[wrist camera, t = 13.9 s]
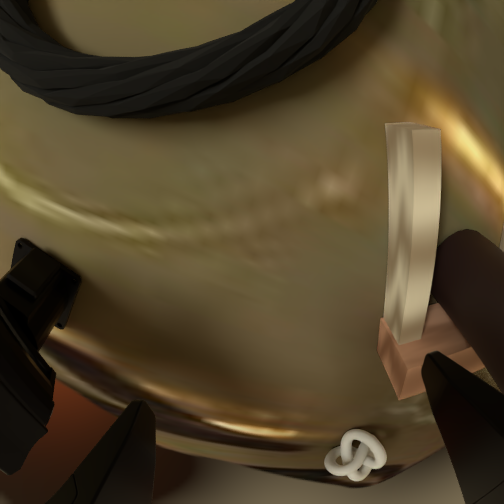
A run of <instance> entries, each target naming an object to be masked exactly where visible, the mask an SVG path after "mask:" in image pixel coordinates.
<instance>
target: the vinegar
mask: <svg viewBox="0 0 504 504" xmlns="http://www.w3.org/2000/svg"><path fill="white" fill-rule="evenodd" d="M430 292H431V294H432V295H433V297H434V298H435V299H436V300H437V302H438V303H439V304H440V305H441V307H442V308H443V309H444V310H445V312H446V313H447V314H448V316H449V317H450V318H451V320H452V321H453V322H454V324H455V325H456V326H457V328H458V329H459V330H460V332H461V333H462V334H463V336H464V337H465V338H466V340H467V341H468V343H469V344H470V345H471V347H472V348H473V350H474V351H475V353H476V354H477V355H478V357H479V358H480V360H481V361H482V363H483V364H484V366H485V367H486V369H487V370H488V372H489V373H490V375H491V376H492V378H493V379H494V381H495V382H496V384H497V386H498V387H499V389H500V390H501V392H502V394H504V252H503V251H502V250H501V249H499V248H498V247H497V246H496V245H494V244H493V243H492V242H491V241H489V240H488V239H487V238H485V237H484V236H483V235H481V234H480V233H479V232H477V231H474V230H469V229H465V230H461V231H457V232H456V233H454V234H452V235H451V236H449V237H448V238H447V239H446V240H445V241H444V242H443V243H442V244H441V245H440V246H439V247H438V249H437V250H436V257H435V265H434V272H433V278H432V285H431V291H430Z"/></svg>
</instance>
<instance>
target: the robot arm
mask: <svg viewBox="0 0 504 504" xmlns="http://www.w3.org/2000/svg"><path fill="white" fill-rule="evenodd" d="M20 243H21V244H22V245H21V244H20ZM73 279H74V280H76V282H75V281H74V280H73ZM80 284H81V278H80V276H78V275H77V274H76V273H74V272H73V271H71V270H69V269H68V268H66V267H65V266H63V265H62V264H60V263H59V262H57V261H56V260H54V259H53V258H51V257H50V256H48V255H47V254H45V253H44V252H42V251H41V250H39V249H38V248H36V247H35V246H33V245H32V244H31V243H29V242H28V241H26V240H25V239H23V238H19V239H18V240H17V241H16V243H15V248H14V253H13V259H12V264H11V269H10V270H9V271H8V272H7V273H6V274H5V275H4V276H3V277H2V278H1V279H0V470H1V471H3V472H4V473H6V474H7V475H12V474H13V473H15V472H16V471H18V470H20V469H21V467H22V465H23V463H24V461H25V459H26V457H27V455H28V453H29V451H30V450H31V448H32V447H33V446H34V444H35V443H36V442H37V441H38V440H39V439H40V438H41V437H43V436H44V435H45V434H46V433H47V432H48V430H47V428H46V427H45V426H46V425H47V423H48V421H49V419H50V416H51V414H52V411H53V408H54V401H53V392H54V384H55V378H56V372H55V371H54V370H53V369H52V367H50V366H49V365H48V364H47V363H46V361H45V360H44V359H43V357H42V356H41V355H40V353H39V350H40V349H41V347H42V345H43V344H44V342H45V340H46V339H47V337H48V335H49V334H50V332H51V331H52V329H53V327H54V326H55V327H57V328H59V329H64V328H65V326H66V323H67V320H68V317H69V314H70V311H71V309H72V306H73V303H74V300H75V297H76V295H77V292H78V289H79V287H80ZM421 376H422V379H423V382H424V386H425V389H426V392H427V396H428V399H429V402H430V406H431V409H432V413H433V415H434V418H435V421H436V423H437V425H438V428H439V430H440V433H441V436H442V438H443V441H444V443H445V446H446V448H447V451H448V454H449V456H450V459H451V462H452V465H453V468H454V470H455V473H456V476H457V479H458V482H459V485H460V488H461V491H462V494H463V497H464V501H465V504H504V394H502V393H501V392H500V391H498V390H497V389H495V388H494V387H492V386H491V385H489V384H488V383H486V382H485V381H483V380H482V379H480V378H479V377H477V376H476V375H474V374H473V373H471V372H470V371H468V370H467V369H465V368H464V367H462V366H461V365H459V364H458V363H456V362H455V361H453V360H452V359H450V358H449V357H447V356H446V355H444V354H443V353H441V352H440V351H433V352H430V353H427V354H426V355H425V358H424V362H423V365H422V368H421ZM155 460H156V418H155V414H154V413H153V411H152V410H151V408H150V407H149V405H148V404H147V402H146V401H144V400H133V401H132V402H131V403H130V404H129V405H128V406H127V408H126V409H125V410H124V411H123V412H122V414H121V415H120V416H119V417H118V419H117V420H116V421H115V422H114V424H113V425H112V426H111V427H110V428H109V430H108V431H107V432H106V433H105V435H104V436H103V437H102V438H101V440H100V441H99V442H98V443H97V444H96V446H95V447H94V448H93V449H92V450H91V452H90V453H89V454H88V455H87V457H86V458H85V459H84V460H83V461H82V463H81V464H80V465H79V466H78V468H77V469H76V470H75V471H74V474H72V475H71V476H70V477H69V479H68V480H67V481H66V482H65V483H64V484H63V486H62V487H61V488H60V489H59V490H58V491H57V492H56V493H55V494H54V495H53V496H52V497H51V498H50V499H49V500H48V501H47V502H46V503H45V504H152V494H153V483H154V482H153V481H154V471H155V462H156V461H155Z"/></svg>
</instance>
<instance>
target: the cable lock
mask: <svg viewBox="0 0 504 504" xmlns="http://www.w3.org/2000/svg"><path fill="white" fill-rule="evenodd" d="M376 2H377V0H295V1H294V2H293V3H291V4H289V5H287V6H285V7H283V8H281V9H279V10H277V11H275V12H274V13H272V14H270V15H268V16H266V17H264V18H263V19H261V20H259V21H257V22H256V23H254V24H252V25H250V26H249V27H247V28H245V29H244V30H242V31H240V32H237V33H234V34H231V35H228V36H225V37H222V38H219V39H216V40H213V41H210V42H207V43H204V44H202V45H199V46H196V47H191V48H185V49H180V50H175V51H171V52H166V53H162V54H157V55H153V56H145V57H100V56H94V55H88V54H84V53H80V52H76V51H73V50H70V49H67V48H64V47H63V46H61V45H60V44H59V43H58V42H56V41H55V40H54V39H53V38H51V37H50V36H49V35H47V34H46V33H45V32H43V31H42V30H41V29H40V28H39V26H38V24H37V22H36V20H35V18H34V16H33V14H32V12H31V10H30V8H29V6H28V0H0V68H1V70H3V71H4V72H6V73H7V74H9V75H10V77H11V79H12V80H13V81H14V82H15V83H16V84H17V85H18V86H19V87H20V88H21V90H22V91H24V92H26V93H29V94H31V95H34V96H36V97H39V98H41V99H43V100H44V101H45V102H46V103H48V104H49V105H52V106H55V107H58V108H60V109H63V110H66V111H69V112H71V113H74V114H79V115H94V116H106V117H110V118H154V117H159V116H164V115H170V114H175V113H181V112H191V111H195V110H199V109H203V108H207V107H212V106H216V105H220V104H225V103H229V102H234V101H236V100H238V99H240V98H242V97H245V96H247V95H249V94H251V93H254V92H256V91H258V90H261V89H263V88H265V87H268V86H270V85H273V84H275V83H277V82H280V81H282V80H283V79H285V78H287V77H288V76H290V75H292V74H294V73H295V72H297V71H299V70H301V69H302V68H304V67H306V66H308V65H310V64H311V63H313V62H315V61H317V60H319V59H321V58H322V57H323V56H325V55H326V54H327V53H328V52H329V51H331V50H332V49H333V48H334V47H335V46H337V45H338V44H339V43H340V42H342V41H343V40H344V39H345V38H347V37H348V36H349V35H350V34H352V33H353V32H354V31H355V30H356V29H357V28H358V26H359V24H360V23H361V21H362V19H363V18H364V16H365V15H366V14H367V13H368V12H369V11H370V10H371V9H372V7H373V6H374V5H375V4H376Z"/></svg>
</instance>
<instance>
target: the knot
mask: <svg viewBox="0 0 504 504" xmlns="http://www.w3.org/2000/svg"><path fill="white" fill-rule="evenodd" d="M353 440H359V441H361V443H360V445H359V448H355V447H352V441H353ZM338 456H341V458H342V463H343V465H338V464H337V463H336V458H337V457H338ZM386 459H387V455H386V451H385V449H384V447H383V445H382V444H381V443H380V441H379V440H378V439H377V438H376V437H375V436H374V435H373V434H370V433H369V432H367V431H364V430H361V429H351V430H349V431H347V432H346V433H345V434H344V435H343V437H342V440H341V446H338V447H335V448H333V449H332V450H330V451H329V452H328V454H327V455H326V457H325V467H326V469H327V470H328V471H329V472H330V473H332V474H334V475H337V476H345V475H347V476H348V477H349V478H350V479H351V480H353V481H360V480H362V479H364V478H365V477H366V476H367V475H368V474H369V473H370V471H371V469H372V468H373V469H378V468H381V467H382V466H383V465H384V464H385V463H386ZM362 464H363V465H362ZM361 465H362V467H361V469H360V470H359V471H357V469H358V468H359V467H360V466H361Z"/></svg>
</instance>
